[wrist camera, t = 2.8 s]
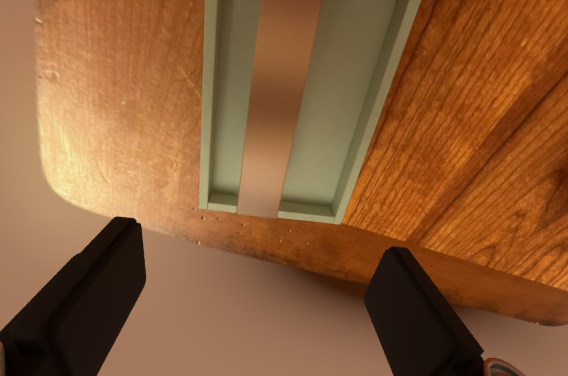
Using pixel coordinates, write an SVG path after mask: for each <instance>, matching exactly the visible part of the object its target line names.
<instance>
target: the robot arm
mask: <svg viewBox="0 0 568 376" xmlns="http://www.w3.org/2000/svg"><path fill="white" fill-rule="evenodd" d="M145 282H146V270H145V260H144V249H143V239H142V228H141V224H140V223H137V222H136V220H135V219H134V218H127V217H114V218H113V219H112V220H111V221H110V222H109V223H108V225H106V227H105V228H104V229H103V230H102V231H101V232H100V233H99V234H98V235H97V236H96V237H95V238H94V239H93V240H92V241H91V242H90V243H89V244H88V245H87V246H86V247H85V249H84V250H83V251H82V252H81V253H79V254H76V255H75V256H74V257H73V258H71V259H70V261H68V262H67V264H66V265H65V266H64V267H63V268H62V269H61V270H60V271H59V272H58V273H57V274H56V275H55V276H54V277H53V278H52V279H51V280H50V281H49V282H48V283H47V284H46V285H45V286H44V287H43V288H42V289H41V290H40V291H39V292H38V293H37V294H36V296H34V297H33V298H32V299H31V300H30V302H29V303H28V304H27V305H26V306H25V307H24V308H23V309H22V310H21V311H20V312H19V313H18V314H17V315H16V316H15V317H14V318H13V319H12V320H11V321H10V322H9V323H8V324H7V325H6V326H5V327H4V328H3V329H2V330H1V331H0V376H97V374H98V372H99V370H100V368H101V367H102V365H103V363H104V361H105V359H106V357H107V355H108V353H109V352H110V350H111V348H112V346H113V344H114V342H115V340H116V338H117V336H118V335H119V333H120V331H121V329H122V327H123V325H124V323H125V322H126V320H127V318H128V316H129V314H130V312H131V310H132V308H133V307H134V305H135V303H136V301H137V299H138V297H139V295H140V294H141V292H142V290H143V288H144V286H145ZM364 303H365V306H366V308H367V311H368V313H369V316H370V318H371V321H372V323H373V325H374V328H375V331H376V333H377V335H378V338H379V341H380V343H381V346H382V348H383V350H384V353H385V355H386V358H387V360H388V363H389V365H390V368H391V370H392V373H393V375H394V376H525V375H524V374H523V373H522V372H521V371H520V370H518V369H517V368H515V367H514V366H512V365H511V364H509V363H507V362H505V361H503V360H500V359H497V358H488V359H486V360H485V361H484V360H483V358H482V357H481V356H480V355H481V354H482V353H483V352H484V350H483V349H482V347H481V346H480V345H479V343H478V342H477V341H476V339H475V338H474V337H473V335H472V334H471V333H470V331H469V330H468V329H467V327H466V326H465V325H464V323H463V322H462V321H461V319H460V318H459V317H458V315H457V314H456V313H455V311H454V310H453V309H452V307H451V306H450V304H449V303H448V302H447V300H446V299H445V298H444V296H443V295H442V294H441V292H440V291H439V290H438V288H437V287H436V286H435V284H434V283H433V282H432V280H431V279H430V278H429V276H428V275H427V274H426V272H425V271H424V270H423V268H422V267H421V266H420V264H419V263H418V262H417V260H416V259H415V257H414V256H413V255H412V253H411V252H410V251H409V250H408V249H407V248H404V247H395V246H392V247H390V248H389V249H388V250H386V251H385V252H384V254H383V257H382V259H381V261H380V263H379V265H378V267H377V269H376V271H375V273H374V275H373V277H372V279H371V281H370V284H369V286H368V288H367V290H366V292H365V294H364Z"/></svg>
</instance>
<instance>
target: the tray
mask: <svg viewBox="0 0 568 376" xmlns="http://www.w3.org/2000/svg"><path fill="white" fill-rule="evenodd" d="M260 1H261V0H205V10H204V43H203V76H202V109H201V142H200V175H199V209H205V210H207V209H208V210H214V211H223V212H233V213H236V209H237V201H238V192H239V183H240V175H241V166H242V157H243V148H244V140H245V131H246V122H247V114H248V105H249V96H250V88H251V79H252V70H253V62H254V53H255V44H256V35H257V27H258V18H259V9H260ZM420 2H421V0H323V1H322V6H321V11H320V16H319V20H318V25H317V30H316V35H315V40H314V44H313V49H312V54H311V59H310V63H309V68H308V73H307V78H306V83H305V87H304V92H303V97H302V102H301V106H300V111H299V116H298V121H297V126H296V130H295V135H294V140H293V145H292V149H291V154H290V159H289V164H288V169H287V173H286V178H285V183H284V188H283V192H282V197H281V202H280V207H279V211H278V216H277V217H278V218H287V219H296V220H305V221H314V222H323V223H333V224H341V222H342V220H343V217H344V214H345V211H346V209H347V206H348V203H349V200H350V197H351V195H352V192H353V189H354V186H355V183H356V181H357V178H358V175H359V172H360V169H361V167H362V164H363V161H364V158H365V156H366V153H367V150H368V147H369V144H370V142H371V139H372V136H373V133H374V130H375V128H376V125H377V122H378V119H379V117H380V114H381V111H382V108H383V105H384V103H385V100H386V97H387V94H388V91H389V89H390V86H391V83H392V80H393V78H394V75H395V72H396V69H397V66H398V64H399V61H400V58H401V55H402V52H403V50H404V47H405V44H406V41H407V39H408V36H409V33H410V30H411V27H412V25H413V22H414V19H415V16H416V13H417V11H418V8H419V5H420Z"/></svg>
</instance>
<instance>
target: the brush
mask: <svg viewBox="0 0 568 376" xmlns="http://www.w3.org/2000/svg"><path fill="white" fill-rule="evenodd" d="M322 1H323V0H261V1H260V9H259V18H258V27H257V35H256V44H255V53H254V62H253V70H252V79H251V88H250V96H249V105H248V114H247V122H246V131H245V140H244V148H243V157H242V166H241V175H240V183H239V192H238V201H237V209H236V214H237V215H245V216H254V217H263V218H273V219H277V216H278V211H279V207H280V202H281V197H282V192H283V188H284V183H285V178H286V173H287V169H288V164H289V159H290V154H291V149H292V145H293V140H294V135H295V130H296V126H297V121H298V116H299V111H300V106H301V102H302V97H303V92H304V87H305V83H306V78H307V73H308V68H309V63H310V59H311V54H312V49H313V44H314V40H315V35H316V30H317V25H318V20H319V16H320V11H321V6H322Z"/></svg>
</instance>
